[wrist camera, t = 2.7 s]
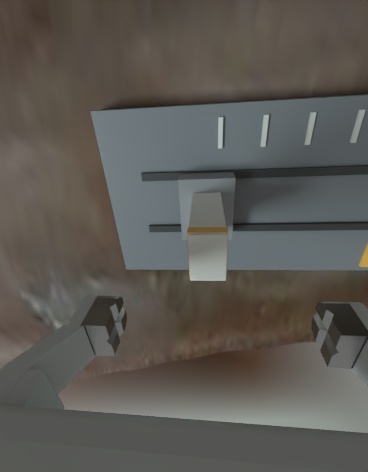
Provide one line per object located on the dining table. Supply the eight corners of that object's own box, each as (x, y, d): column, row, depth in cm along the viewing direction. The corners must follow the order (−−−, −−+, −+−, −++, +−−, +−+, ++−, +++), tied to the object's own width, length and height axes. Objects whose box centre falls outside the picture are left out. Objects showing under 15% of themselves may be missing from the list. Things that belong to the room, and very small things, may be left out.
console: (101, 109, 18) (88, 111, 16) (542, 83, 16) (591, 82, 14) (131, 257, 25) (125, 271, 23) (437, 257, 23) (460, 272, 21)
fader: (179, 173, 18) (166, 218, 12) (233, 172, 18) (249, 216, 11) (183, 230, 21) (174, 293, 14) (230, 230, 20) (242, 294, 14)
